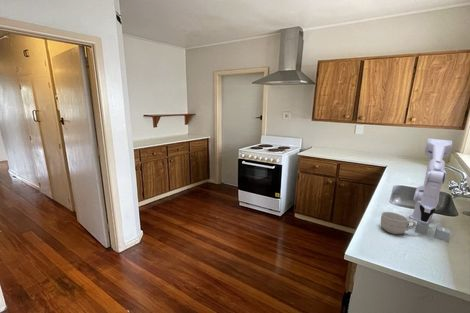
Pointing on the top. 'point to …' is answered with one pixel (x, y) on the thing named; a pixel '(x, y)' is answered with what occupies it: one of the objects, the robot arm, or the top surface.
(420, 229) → the plain block
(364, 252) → the top surface
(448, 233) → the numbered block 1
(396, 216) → the teacup
